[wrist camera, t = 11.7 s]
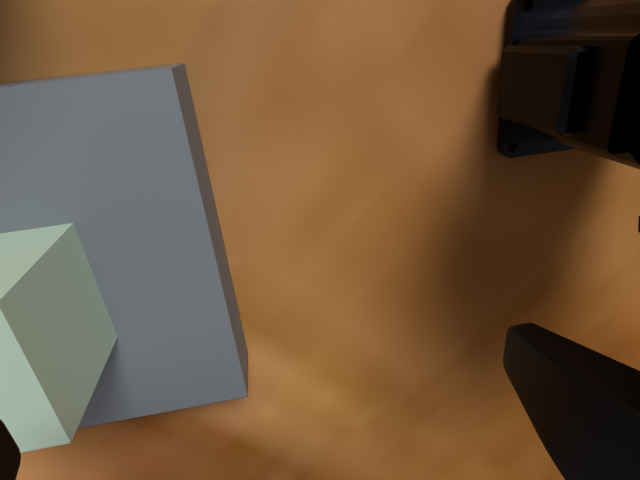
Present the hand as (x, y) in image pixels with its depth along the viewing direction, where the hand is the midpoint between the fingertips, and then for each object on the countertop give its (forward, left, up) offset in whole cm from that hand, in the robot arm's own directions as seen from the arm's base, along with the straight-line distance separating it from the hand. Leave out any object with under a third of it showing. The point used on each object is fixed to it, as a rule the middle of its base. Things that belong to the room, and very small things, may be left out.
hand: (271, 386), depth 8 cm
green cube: (+9, +2, -9) cm, 13 cm away
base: (+9, +2, -12) cm, 15 cm away
